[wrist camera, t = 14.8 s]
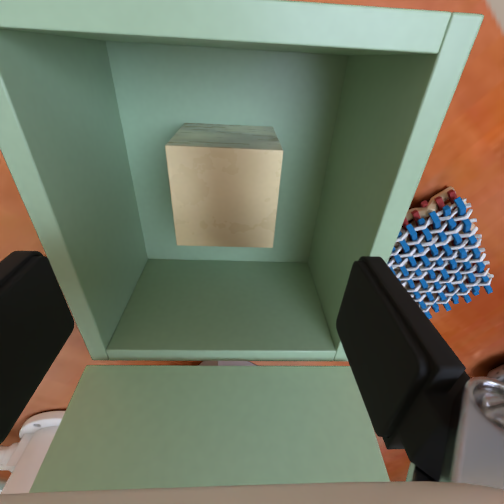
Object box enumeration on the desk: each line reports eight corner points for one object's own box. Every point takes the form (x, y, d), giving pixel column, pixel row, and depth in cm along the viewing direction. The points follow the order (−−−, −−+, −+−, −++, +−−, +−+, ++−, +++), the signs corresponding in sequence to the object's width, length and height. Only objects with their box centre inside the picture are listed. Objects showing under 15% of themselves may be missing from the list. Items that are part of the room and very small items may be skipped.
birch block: (190, 204, 19) (176, 245, 15) (184, 122, 16) (164, 145, 12) (266, 206, 19) (273, 248, 15) (273, 126, 16) (283, 150, 12)
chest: (90, 17, 14) (-78, -26, 7) (364, 35, 15) (486, 13, 7) (141, 261, 22) (92, 360, 15) (315, 264, 23) (349, 361, 16)
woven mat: (452, 175, 19) (473, 187, 17) (484, 274, 24) (503, 290, 22) (316, 253, 22) (322, 269, 21) (369, 325, 27) (377, 343, 26)
